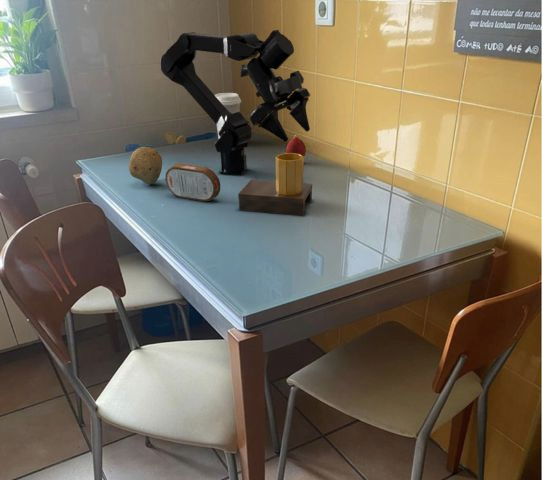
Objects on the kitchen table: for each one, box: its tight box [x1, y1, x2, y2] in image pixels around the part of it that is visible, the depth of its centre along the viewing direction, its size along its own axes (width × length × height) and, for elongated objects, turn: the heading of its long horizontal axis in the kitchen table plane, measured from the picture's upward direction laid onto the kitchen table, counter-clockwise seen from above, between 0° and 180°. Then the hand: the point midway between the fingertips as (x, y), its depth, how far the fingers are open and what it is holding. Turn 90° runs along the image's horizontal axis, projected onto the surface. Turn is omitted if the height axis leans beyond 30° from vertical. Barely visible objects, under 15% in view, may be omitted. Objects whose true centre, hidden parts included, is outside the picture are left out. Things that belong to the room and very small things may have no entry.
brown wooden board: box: [237, 179, 313, 216], centre depth 134 cm, size 16×11×4 cm
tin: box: [165, 162, 221, 202], centre depth 137 cm, size 15×3×8 cm, turn 65°
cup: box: [275, 152, 305, 195], centre depth 129 cm, size 6×7×8 cm
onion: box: [285, 134, 307, 157], centre depth 162 cm, size 6×6×8 cm
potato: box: [128, 146, 163, 185], centre depth 147 cm, size 9×9×10 cm
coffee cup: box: [214, 92, 242, 139], centre depth 179 cm, size 10×10×15 cm
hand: (297, 135), depth 140 cm, fingers open, 9 cm apart
